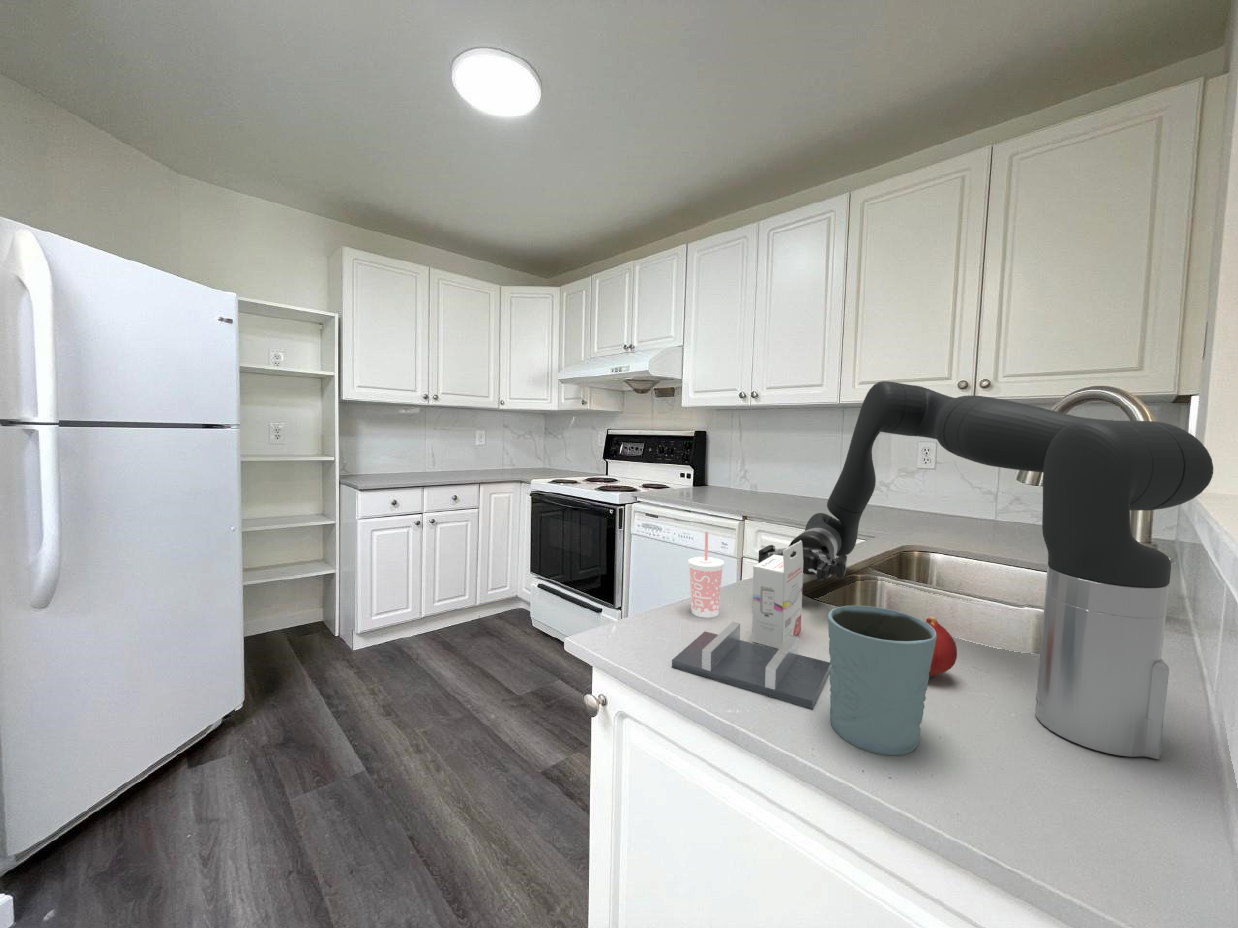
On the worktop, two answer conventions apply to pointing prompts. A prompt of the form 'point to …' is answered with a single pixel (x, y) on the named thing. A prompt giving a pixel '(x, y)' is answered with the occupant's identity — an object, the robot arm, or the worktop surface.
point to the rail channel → (756, 666)
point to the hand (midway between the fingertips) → (791, 570)
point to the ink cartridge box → (778, 597)
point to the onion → (942, 649)
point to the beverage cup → (705, 584)
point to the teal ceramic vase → (878, 677)
